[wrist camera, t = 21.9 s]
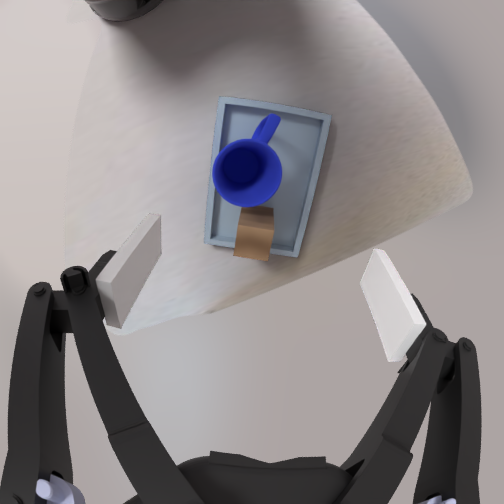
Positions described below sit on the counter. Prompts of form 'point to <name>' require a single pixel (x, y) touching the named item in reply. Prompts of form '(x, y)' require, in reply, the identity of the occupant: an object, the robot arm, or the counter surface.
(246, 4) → the counter surface
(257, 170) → the mug
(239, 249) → the walnut block
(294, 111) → the tray
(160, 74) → the counter surface
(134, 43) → the counter surface
